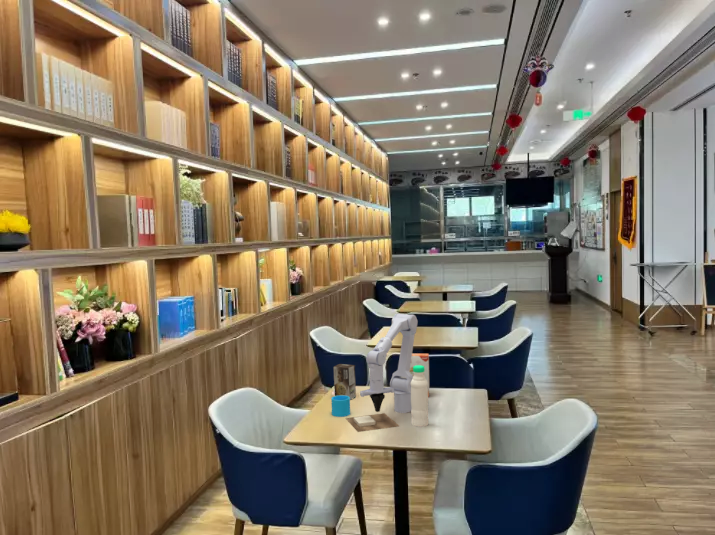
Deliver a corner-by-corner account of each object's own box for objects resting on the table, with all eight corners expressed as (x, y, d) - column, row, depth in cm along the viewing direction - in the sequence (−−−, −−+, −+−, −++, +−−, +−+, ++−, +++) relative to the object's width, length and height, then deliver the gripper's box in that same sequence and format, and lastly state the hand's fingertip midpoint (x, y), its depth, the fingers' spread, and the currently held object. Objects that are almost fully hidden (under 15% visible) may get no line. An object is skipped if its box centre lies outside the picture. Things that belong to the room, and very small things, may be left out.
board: (384, 415, 231) (384, 413, 231) (399, 428, 214) (399, 426, 214) (345, 420, 226) (345, 418, 226) (357, 434, 209) (357, 431, 209)
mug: (346, 419, 227) (346, 401, 226) (329, 418, 229) (328, 400, 229) (355, 411, 238) (355, 393, 238) (338, 410, 241) (338, 392, 240)
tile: (369, 415, 224) (353, 417, 222) (375, 421, 216) (359, 423, 214) (369, 419, 224) (353, 421, 222) (375, 425, 216) (359, 427, 214)
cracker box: (400, 397, 258) (399, 355, 258) (401, 393, 264) (400, 352, 263) (429, 397, 256) (428, 355, 255) (429, 394, 262) (428, 353, 261)
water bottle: (417, 429, 212) (416, 368, 211) (408, 424, 218) (406, 365, 217) (432, 426, 215) (430, 366, 214) (422, 421, 221) (421, 363, 220)
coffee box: (356, 397, 261) (355, 364, 260) (349, 400, 255) (348, 367, 255) (340, 394, 265) (340, 363, 265) (334, 398, 260) (333, 366, 259)
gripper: (388, 375, 226) (389, 406, 227) (357, 379, 221) (358, 410, 222) (395, 378, 220) (396, 410, 220) (363, 383, 215) (364, 415, 215)
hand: (377, 411), depth 221 cm, fingers closed
